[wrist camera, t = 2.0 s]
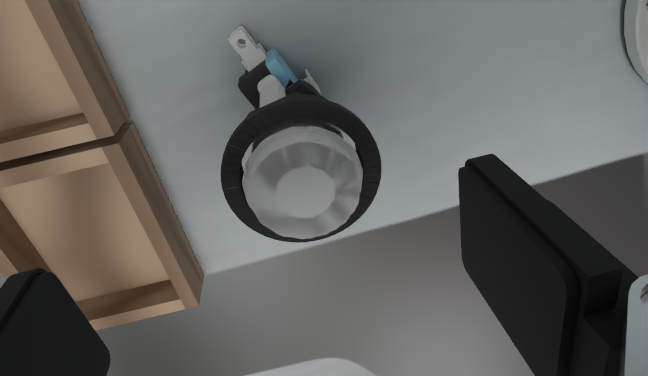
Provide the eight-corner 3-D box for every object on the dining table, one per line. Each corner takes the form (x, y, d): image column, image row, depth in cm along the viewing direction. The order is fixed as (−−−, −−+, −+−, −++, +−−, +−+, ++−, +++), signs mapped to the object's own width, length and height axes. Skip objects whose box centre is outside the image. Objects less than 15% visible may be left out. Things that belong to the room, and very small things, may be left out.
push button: (193, 60, 21) (146, 148, 12) (282, -10, 20) (299, 32, 11) (278, 159, 24) (288, 284, 15) (359, 103, 23) (417, 204, 14)
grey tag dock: (133, 122, 22) (118, 143, 20) (204, 275, 27) (198, 305, 25) (-106, 178, 22) (-148, 205, 20) (13, 320, 27) (-9, 355, 25)
